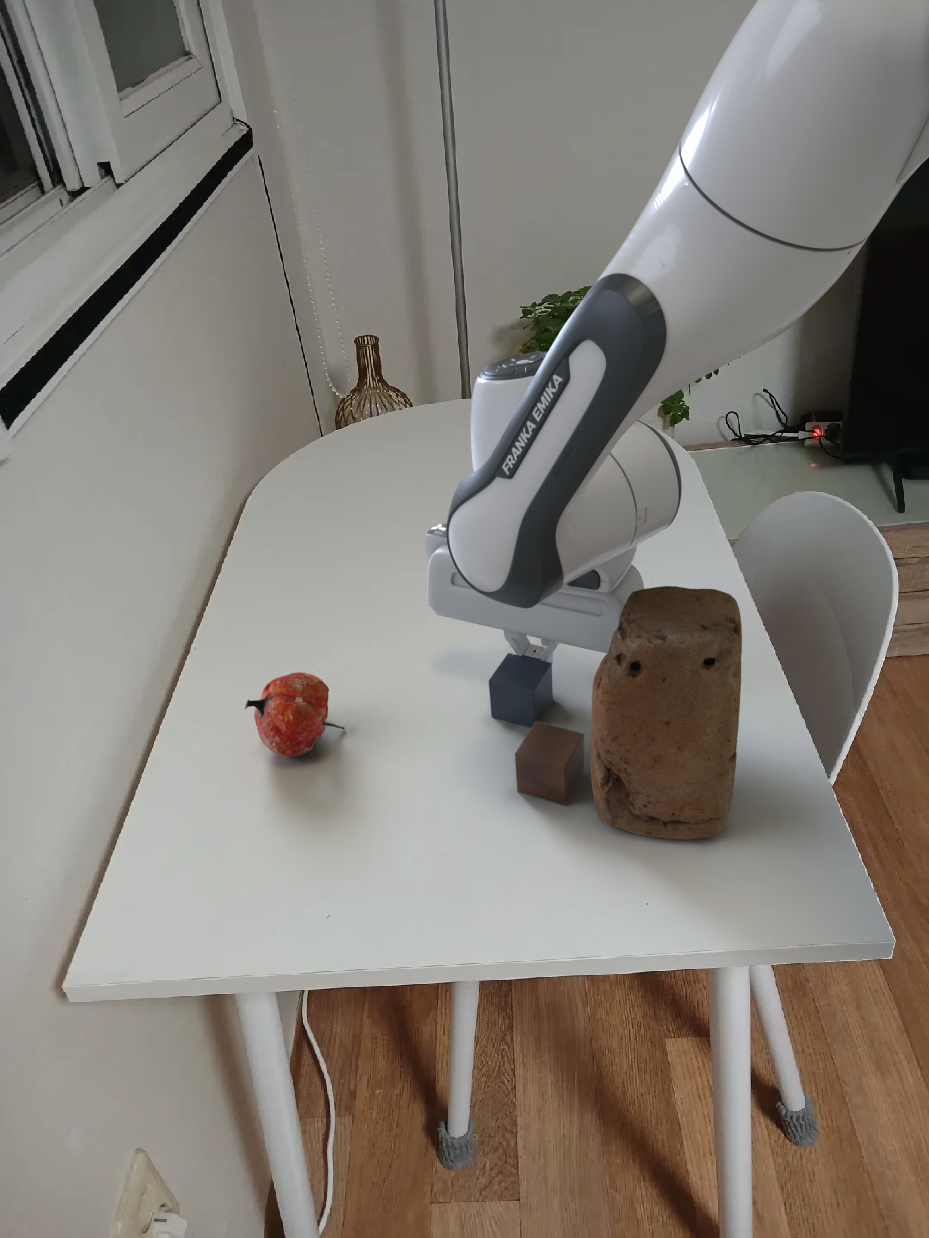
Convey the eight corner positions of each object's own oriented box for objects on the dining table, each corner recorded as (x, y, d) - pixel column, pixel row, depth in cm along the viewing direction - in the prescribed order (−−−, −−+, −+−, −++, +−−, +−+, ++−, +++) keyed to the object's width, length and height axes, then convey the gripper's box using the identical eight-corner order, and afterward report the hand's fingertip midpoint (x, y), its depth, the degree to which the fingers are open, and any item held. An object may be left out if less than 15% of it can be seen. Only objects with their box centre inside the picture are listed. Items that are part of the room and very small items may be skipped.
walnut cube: (584, 771, 82) (584, 733, 79) (565, 806, 79) (564, 767, 76) (537, 757, 84) (535, 720, 81) (516, 791, 80) (514, 753, 78)
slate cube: (553, 699, 90) (551, 662, 87) (535, 728, 87) (533, 691, 84) (510, 688, 92) (508, 652, 89) (491, 717, 88) (488, 680, 86)
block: (722, 780, 80) (743, 580, 68) (730, 849, 74) (755, 643, 62) (592, 774, 81) (591, 579, 70) (589, 842, 75) (587, 640, 64)
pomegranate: (324, 724, 93) (228, 694, 88) (361, 675, 89) (264, 641, 85) (328, 783, 87) (227, 755, 83) (369, 733, 84) (265, 700, 79)
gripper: (406, 537, 83) (422, 661, 91) (631, 581, 75) (627, 712, 83) (439, 504, 88) (452, 624, 96) (655, 541, 80) (649, 670, 88)
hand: (535, 666), depth 90 cm, fingers closed, pressing on slate cube
